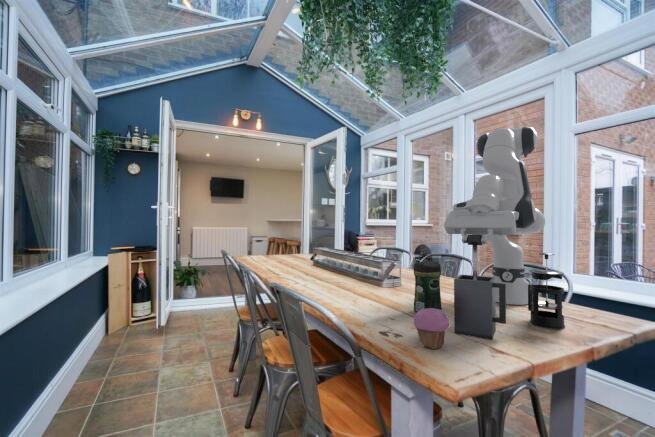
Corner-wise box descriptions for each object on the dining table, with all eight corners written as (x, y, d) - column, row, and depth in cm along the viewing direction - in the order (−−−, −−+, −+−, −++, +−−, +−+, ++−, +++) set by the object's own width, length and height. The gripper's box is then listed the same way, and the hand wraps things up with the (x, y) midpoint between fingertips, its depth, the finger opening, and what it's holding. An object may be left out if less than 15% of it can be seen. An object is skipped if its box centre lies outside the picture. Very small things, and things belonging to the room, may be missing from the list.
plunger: (463, 286, 101) (463, 234, 101) (490, 288, 97) (490, 234, 97) (459, 290, 94) (459, 234, 95) (487, 293, 90) (487, 235, 91)
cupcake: (454, 346, 84) (454, 308, 84) (441, 356, 77) (441, 314, 78) (422, 338, 90) (422, 302, 90) (407, 346, 83) (407, 308, 83)
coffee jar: (429, 308, 122) (429, 259, 123) (445, 313, 115) (445, 261, 116) (409, 310, 118) (409, 260, 118) (424, 316, 111) (424, 263, 111)
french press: (575, 328, 99) (574, 254, 99) (550, 331, 96) (549, 254, 97) (541, 317, 110) (540, 251, 110) (518, 319, 108) (518, 251, 108)
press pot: (460, 324, 102) (460, 274, 102) (507, 332, 95) (506, 278, 95) (454, 333, 94) (454, 278, 94) (504, 342, 87) (504, 283, 87)
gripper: (521, 217, 98) (515, 251, 90) (453, 218, 111) (443, 247, 103) (518, 202, 95) (512, 235, 87) (448, 204, 108) (437, 234, 100)
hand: (474, 242), depth 95 cm, fingers closed on plunger, 4 cm apart
